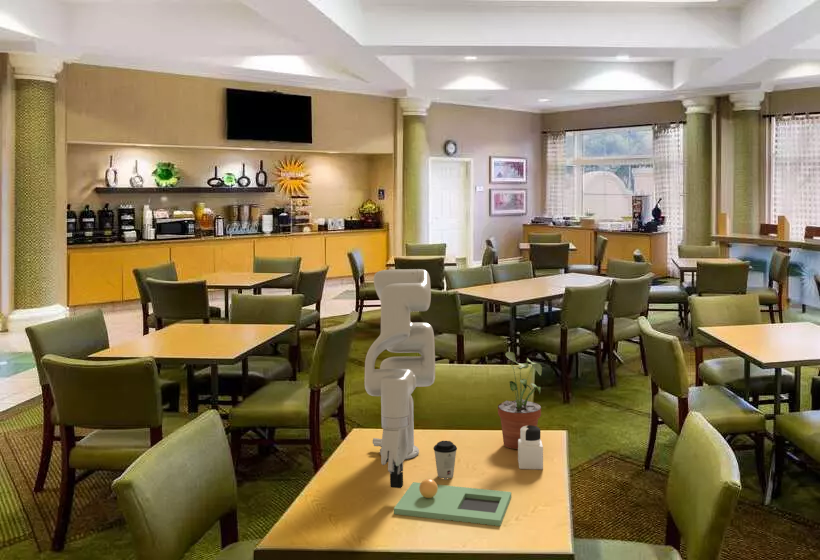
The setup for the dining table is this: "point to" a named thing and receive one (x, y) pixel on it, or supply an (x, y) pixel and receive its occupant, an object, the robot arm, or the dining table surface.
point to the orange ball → (428, 488)
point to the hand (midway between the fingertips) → (396, 486)
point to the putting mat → (456, 504)
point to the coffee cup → (445, 458)
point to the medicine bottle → (530, 448)
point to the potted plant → (518, 408)
